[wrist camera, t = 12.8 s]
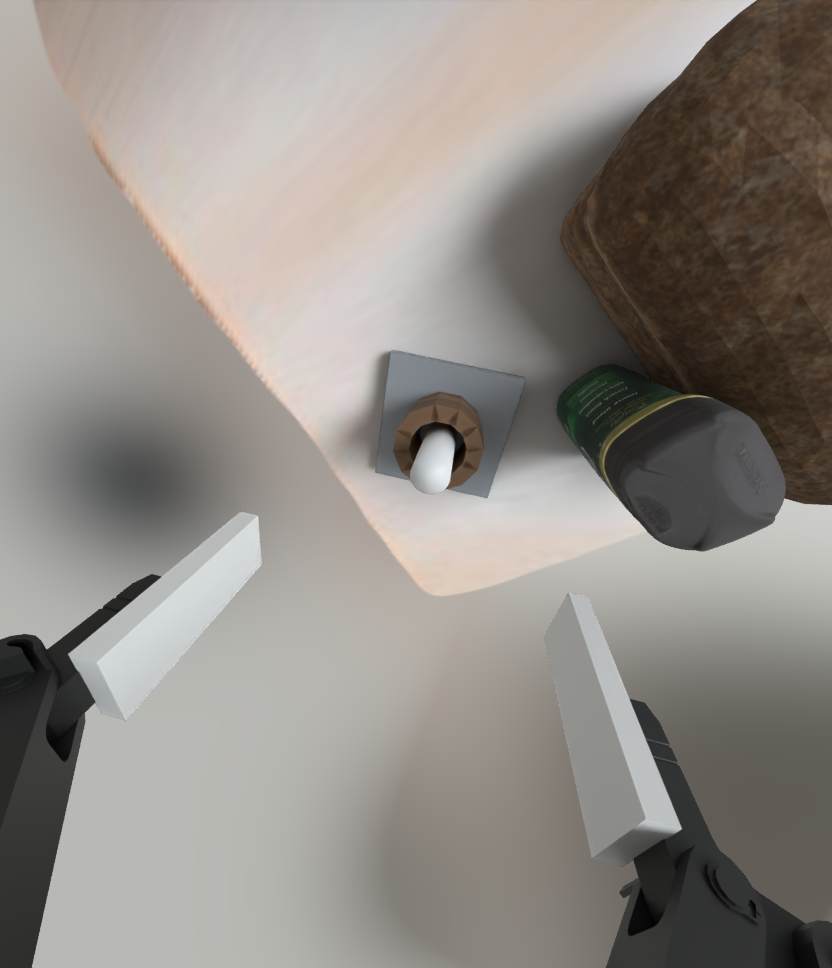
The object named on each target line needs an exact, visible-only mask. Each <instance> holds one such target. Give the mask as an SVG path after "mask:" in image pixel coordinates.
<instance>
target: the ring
mask: <svg viewBox="0 0 832 968" xmlns="http://www.w3.org/2000/svg"><path fill="white" fill-rule="evenodd" d="M435 421H436V422H440V423H445V424H449V425H452V426H453V427H454V428H455V429H456V430H457V431H458V432H460V433H461V434H462V435H463V438H464V441H465V443H464V444H463V445H462V446H461V447H460V448H459V449H458V450H457V451H456V452H454V457H453V464H452V470H451V477H450V482H449V484H448V486H447V487H446V489H449V488H453V487H457V486H461V485H462V484H463V483H465V482H466V481H467V480H468V479H469V478H470V477H471V476H472V475H473V474H474V473H475V472H477V471H478V467H479V464H480V461H481V457H482V454H483V451H484V443H483V431H482V427H481V423H480V420H479V416H478V413H477V410H476V409H475V408H474V407H473V406H472V405H471V404H469V403H468V402H467V401H466V400H465V399H464V398H463V397H462V396H459V395H454V394H449V393H445V392H438V393H435V394H432V395H429V396H426V397H423V398H420V400H419V401H418V402H417V403H416V404H415V406H414V407H413V408H412V409H411V410H410V411H409V413H408V414H407V415H406V417H405V418H404V419H403V421H402V422H401V423H400V425H399V426H398V428H397V429H396V435H395V441H394V448H393V453H394V455H395V458H396V460H397V463H398V465H399V468H400V470H401V472H402V473H403V474H405V475H406V476H407V477H408V478H409V479H410V471H411V468H412V466H413V463H414V461H415V459H416V456H417V454H418V451H419V449H420V447H421V444H422V442H421V439H420V437H419V434H418V429H419V428H420V426H423V425H426V424H429V423H432V422H435ZM444 490H445V489H444Z"/></svg>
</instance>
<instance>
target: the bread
mask: <svg viewBox="0 0 832 968" xmlns="http://www.w3.org/2000/svg"><path fill="white" fill-rule="evenodd" d="M561 242H562V243H563V245H564V247H565V249H566V251H567V253H568V255H569V256H570V258H571V259H572V260H573V262H574V263H575V264H576V266H577V267H578V268H579V270H580V271H581V273H582V274H583V276H584V277H585V279H586V280H587V282H588V284H589V285H590V287H591V288H592V290H593V292H594V293H595V295H596V297H597V298H598V300H599V301H600V303H601V304H602V306H603V308H604V309H605V311H606V312H607V314H608V315H609V317H610V318H611V320H612V321H613V322H614V324H615V325H616V327H617V328H618V330H619V331H620V333H621V334H622V336H623V337H624V338H625V340H626V341H627V343H628V344H629V346H630V347H631V348H632V350H633V351H634V353H635V354H636V355H637V357H638V358H639V360H640V361H641V362H642V364H643V365H644V367H645V368H646V370H647V372H648V373H649V375H650V377H651V378H652V380H653V382H655V383H658V384H660V385H663V386H665V387H667V388H669V389H672V390H674V391H676V392H679V393H681V394H684V395H687V394H692V395H701V396H706V397H710V398H713V399H716V400H719V401H721V402H723V403H725V404H727V405H729V406H731V407H733V408H735V409H737V410H739V411H741V412H743V413H745V414H746V415H748V416H749V417H750V418H751V419H752V420H753V421H754V422H756V423H757V424H758V426H759V428H760V430H761V432H762V434H763V435H764V437H765V438H766V440H767V442H768V444H769V445H770V447H771V449H772V451H773V453H774V455H775V457H776V459H777V461H778V464H779V465H780V468H781V471H782V473H783V476H784V479H785V485H786V492H785V497H784V498H785V499H789V500H792V501H796V502H800V503H804V504H820V505H832V0H757V1H755V2H754V3H753V4H751V5H750V6H749V7H747V8H746V9H744V10H743V11H742V12H740V13H739V14H738V15H737V16H736V17H734V18H733V19H732V20H731V21H730V22H729V23H728V24H727V25H725V26H724V27H723V28H722V29H721V30H720V31H719V32H718V33H716V34H715V35H714V36H713V37H712V38H711V39H710V40H709V41H708V42H707V43H706V44H705V45H704V46H703V47H702V49H701V50H700V51H699V52H698V54H697V55H696V56H695V57H694V59H693V60H692V61H691V62H690V64H689V65H688V66H687V67H686V68H685V70H684V71H683V72H682V73H681V75H680V76H679V77H678V78H677V79H676V80H674V81H673V82H672V83H671V84H670V85H669V86H668V87H667V88H666V89H665V90H663V91H662V92H661V93H660V94H659V95H658V96H657V97H656V98H655V99H654V100H653V101H651V102H650V103H649V104H648V106H647V107H646V108H645V109H644V111H643V112H642V113H641V115H640V116H639V117H638V118H637V120H636V121H635V122H634V124H633V125H632V126H631V127H630V129H629V130H628V131H627V133H626V134H625V135H624V137H623V138H622V140H621V141H620V143H619V144H618V146H617V147H616V149H615V150H614V152H613V153H612V155H611V157H610V158H609V160H608V161H607V163H606V164H605V165H604V167H603V168H602V169H601V171H600V172H599V173H598V175H597V176H596V177H595V179H594V180H593V181H592V182H591V183H590V185H589V186H588V187H587V188H586V189H585V190H584V192H583V193H582V194H581V195H580V196H579V198H578V199H577V201H576V202H575V204H574V205H573V207H572V209H571V210H570V212H569V213H568V215H567V216H566V218H565V219H564V223H563V228H562V234H561Z"/></svg>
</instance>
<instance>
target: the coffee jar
mask: <svg viewBox="0 0 832 968" xmlns="http://www.w3.org/2000/svg"><path fill="white" fill-rule="evenodd" d="M557 415H558V418H559V420H560V422H561V424H562V426H563V428H564V429H565V431H566V433H567V434H568V435H569V437H570V438H571V440H572V441H573V442H574V444H575V445H576V446H577V447H578V449H579V450H580V451H581V452H582V454H583V455H584V457H585V458H586V459H587V461H588V462H589V463H590V465H591V466H592V467H593V469H594V470H595V471H596V473H597V474H598V475H599V476H600V478H601V479H602V480H603V481H604V482H605V484H606V485H607V486H608V487H609V488H610V490H611V491H612V492H613V493H614V494H615V495H616V497H617V498H618V499H619V500H620V501H621V503H622V504H623V505H624V506H625V507H626V509H627V510H628V511H629V512H630V513H631V514H632V515H633V517H635V518H636V519H637V520H638V521H639V522H640V523H641V525H642V526H643V527H644V528H645V529H646V530H647V532H648V533H649V534H651V536H653V537H654V538H655V539H656V540H658V541H659V542H661V543H663V544H665V545H668V546H671V547H674V548H679V549H684V550H697V551H707V550H710V549H713V548H716V547H719V546H721V545H725V544H727V543H730V542H733V541H735V540H738V539H740V538H743V537H745V536H747V535H750V534H752V533H754V532H756V531H758V530H760V529H763V528H765V527H767V526H768V525H770V524H772V523H773V522H774V520H775V516H776V515H777V513H778V512H779V510H780V508H781V506H782V503H783V501H784V497H785V492H786V485H785V479H784V476H783V473H782V471H781V468H780V465H779V464H778V461H777V459H776V457H775V455H774V453H773V451H772V449H771V447H770V445H769V444H768V442H767V440H766V438H765V437H764V435H763V434H762V432H761V430H760V428H759V426H758V424H757V423H756V422H754V421H753V420H752V419H751V418H750V417H749V416H748V415H746V414H745V413H743V412H741V411H739V410H737V409H735V408H733V407H731V406H729V405H727V404H725V403H723V402H721V401H719V400H716V399H713V398H710V397H706V396H701V395H692V394H687V395H684V394H681V393H679V392H676V391H674V390H672V389H669V388H667V387H665V386H663V385H660V384H658V383H655V382H653V381H651V380H649V379H647V378H645V377H643V376H640V375H638V374H636V373H634V372H632V371H630V370H628V369H625V368H623V367H620V366H617V365H605V366H601V367H598V368H596V369H594V370H592V371H590V372H589V373H587V374H585V375H584V376H582V377H581V378H579V379H578V380H577V381H575V382H574V383H573V384H572V385H570V386H569V387H568V388H567V389H566V390H565V391H564V392H563V394H562V395H561V397H560V398H559V401H558V403H557Z"/></svg>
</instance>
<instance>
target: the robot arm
mask: <svg viewBox="0 0 832 968" xmlns="http://www.w3.org/2000/svg"><path fill="white" fill-rule="evenodd" d="M261 564H262V563H261V550H260V537H259V524H258V516H257V515H253V514H249V513H245V512H240V513H239V514H237V515H236V516H235V517H234V518H232V519H231V520H230V521H229V522H228V523H226V524H225V525H224V526H223V527H221V528H220V529H219V530H218V531H217V532H215V533H214V534H213V535H212V536H211V537H209V538H208V539H207V540H206V541H205V542H203V543H202V544H201V545H200V546H199V547H197V548H196V549H195V550H194V551H193V552H191V553H190V554H189V555H188V556H186V557H185V558H184V559H183V560H182V561H180V562H179V563H178V564H177V565H176V566H174V567H173V568H172V569H171V570H169V571H168V572H167V573H166V574H165V575H163V576H162V577H161V576H157V575H153V574H151V575H149V576H147V577H145V578H143V579H141V580H139V581H137V582H135V583H133V584H131V585H130V586H129V587H127V588H126V589H125V590H123V592H121V593H120V594H118V595H117V597H116V598H115V599H112V600H111V601H109V602H108V603H107V604H105V605H104V606H103V608H102V609H99V610H98V611H96V612H95V613H94V614H93V615H91V616H90V617H89V618H87V619H86V620H85V621H83V622H82V623H81V624H80V625H79V626H77V627H76V628H74V629H73V630H72V631H71V632H69V633H68V634H67V635H65V636H64V637H63V638H62V639H61V640H59V641H58V642H56V643H55V644H54V645H53V646H51V647H50V648H49V649H47V650H46V648H45V646H44V645H43V643H42V641H41V640H40V639H39V638H38V637H36V636H34V635H28V634H23V635H15V636H9V637H7V638H4V639H1V640H0V968H32V964H33V959H34V954H35V950H36V945H37V940H38V936H39V931H40V927H41V922H42V918H43V913H44V908H45V904H46V899H47V895H48V890H49V886H50V881H51V876H52V872H53V867H54V863H55V858H56V853H57V849H58V844H59V839H60V835H61V830H62V825H63V821H64V817H65V812H66V807H67V803H68V798H69V793H70V789H71V785H72V780H73V776H74V771H75V766H76V761H77V757H78V753H79V748H80V743H81V739H82V734H83V730H84V725H85V712H86V711H87V710H88V709H89V708H90V707H91V706H92V705H93V704H94V703H95V704H96V705H97V707H98V709H99V711H100V713H101V714H104V715H107V716H111V717H114V718H117V719H121V720H124V721H126V720H127V719H128V718H129V716H130V715H131V714H132V713H133V712H134V711H135V710H136V708H137V707H138V706H139V705H140V704H141V703H142V702H143V700H144V699H145V698H146V697H147V696H148V695H149V693H150V692H151V691H152V690H153V689H154V688H155V687H156V685H157V684H158V683H159V682H160V681H161V680H162V679H163V677H164V676H165V675H166V674H167V673H168V672H169V670H170V669H171V668H172V667H173V666H174V664H176V662H177V661H178V660H179V659H180V658H181V657H182V655H183V654H184V653H185V652H186V651H187V650H188V648H189V647H190V646H191V645H192V644H193V643H194V641H195V640H196V639H197V638H198V637H199V636H200V635H201V633H202V632H203V631H204V630H205V629H206V628H207V627H208V625H209V624H210V623H211V622H212V621H213V620H214V619H215V617H216V616H217V615H218V614H219V613H220V612H221V610H222V609H223V608H224V607H225V606H226V605H227V604H228V602H229V601H230V600H231V599H232V598H233V597H234V595H235V594H236V593H237V592H238V591H239V590H240V588H241V587H242V586H243V585H244V584H245V583H246V582H247V580H248V579H249V578H250V577H251V576H252V575H253V574H254V572H255V571H256V570H257V569H258V568H259V567H260V565H261ZM544 639H545V644H546V648H547V654H548V658H549V663H550V667H551V672H552V677H553V681H554V686H555V691H556V695H557V700H558V704H559V709H560V713H561V718H562V723H563V727H564V732H565V736H566V741H567V746H568V751H569V755H570V760H571V765H572V769H573V774H574V778H575V782H576V787H577V792H578V797H579V802H580V806H581V811H582V815H583V820H584V825H585V829H586V834H587V838H588V843H589V848H590V852H591V857H592V859H595V860H598V861H602V862H605V863H609V864H612V865H616V866H619V867H623V866H625V865H626V864H628V863H629V862H631V861H633V860H634V863H635V867H636V870H637V873H638V876H639V878H637V879H635V880H634V881H632V882H630V883H628V884H627V885H625V886H624V887H623V888H622V890H621V891H620V892H619V893H620V894H621V895H622V897H623V898H625V897H627V896H628V895H630V897H629V900H628V903H627V906H626V909H625V912H624V915H623V918H622V921H621V924H620V927H619V930H618V933H617V936H616V939H615V942H614V945H613V948H612V951H611V954H610V957H609V960H608V963H607V966H606V968H832V923H830V922H828V921H818V920H817V921H814V922H810V923H807V924H806V923H804V922H802V921H801V920H799V919H798V918H796V917H795V916H793V915H792V914H790V913H789V912H787V911H786V910H784V909H783V908H781V907H780V906H778V905H777V904H775V903H774V902H772V901H771V900H769V899H768V898H766V897H765V896H763V895H762V894H760V893H759V892H758V891H756V890H755V889H754V888H753V887H752V886H751V884H750V883H749V881H748V879H747V878H746V876H745V875H744V874H743V873H742V871H741V870H740V869H739V868H738V867H737V866H736V865H735V864H734V862H733V861H732V860H731V859H730V858H728V857H727V856H726V855H724V854H723V853H722V852H721V851H720V850H719V849H718V847H717V845H716V844H715V842H714V840H713V838H712V836H711V834H710V832H709V830H708V827H707V825H706V823H705V821H704V819H703V816H702V814H701V812H700V810H699V808H698V806H697V803H696V801H695V799H694V797H693V795H692V792H691V790H690V788H689V786H688V784H687V781H686V779H685V777H684V775H683V773H682V771H681V768H680V766H678V765H677V759H676V757H675V755H674V753H673V751H672V749H671V748H670V747H669V742H668V740H667V738H666V735H665V733H664V731H663V729H662V727H661V724H660V723H659V721H658V720H657V718H656V717H655V716H654V715H653V713H652V712H651V711H650V709H649V708H648V706H647V705H646V704H645V703H643V702H640V701H636V700H632V699H629V697H628V694H627V692H626V690H625V687H624V685H623V682H622V680H621V677H620V675H619V672H618V670H617V668H616V665H615V662H614V660H613V657H612V655H611V653H610V650H609V648H608V645H607V643H606V640H605V638H604V635H603V633H602V630H601V628H600V626H599V623H598V620H597V618H596V615H595V613H594V611H593V608H592V606H591V603H590V601H589V598H588V597H587V596H583V595H579V594H575V593H571V592H568V594H567V596H566V597H565V599H564V601H563V603H562V604H561V606H560V608H559V610H558V612H557V614H556V615H555V617H554V619H553V621H552V623H551V624H550V626H549V628H548V630H547V631H546V633H545V635H544Z"/></svg>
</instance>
